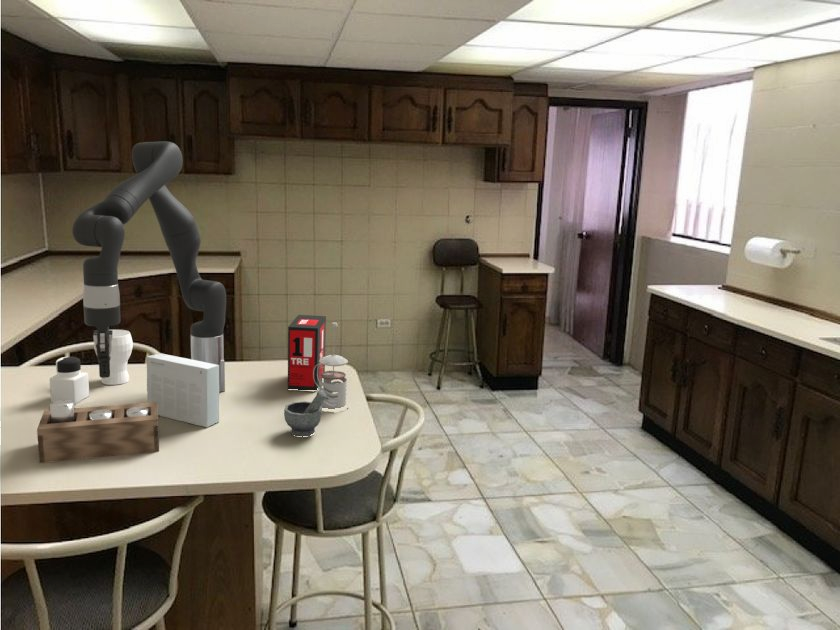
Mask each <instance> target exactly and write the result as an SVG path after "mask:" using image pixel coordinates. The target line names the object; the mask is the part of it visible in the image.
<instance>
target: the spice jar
mask: <svg viewBox="0 0 840 630" xmlns="http://www.w3.org/2000/svg"><path fill="white" fill-rule="evenodd" d="M89 416H90V420H100V419H112V411H110V410H105V409H102V410H95V411H92V412H91V413H90V414H89Z"/></svg>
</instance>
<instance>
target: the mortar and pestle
mask: <svg viewBox="0 0 840 630" xmlns="http://www.w3.org/2000/svg"><path fill="white" fill-rule="evenodd" d="M326 398H327V394H326V393H325V392H323V391H319V390H317V392H316V395H315V397H314V398H313V400H311V401H306V400H303V401H294V402H291V403H288V404H286V405H284V406H285V407H284V408H283V409H284V410H283V415H284V421H285V423H286V424H287V426H289V428H291V432H290V434H291V433H292V434H293V435H295V436H302V437H303V436H310V435H311V434H313V433H314V432H315V433H316V429H315V428H317V426H319V424H320V422H321V420H322V419H321V418H322V413H323V412H322V406H321V405H322V403H323V401H324V400H325V399H326ZM293 435H292V436H293ZM295 436H294V437H295ZM310 437H311V436H310Z"/></svg>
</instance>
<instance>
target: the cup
mask: <svg viewBox="0 0 840 630" xmlns="http://www.w3.org/2000/svg"><path fill="white" fill-rule="evenodd" d="M112 330H113V338H112V352H111V354H110V356H111V360H110V376H109V377H106V378H101V384H104V385H107V386H108V385H109V386H113V385H114V386H115V385H122V384H125V383H128V382H130V376H129V372H128V360H129V359H130V357H131V354H132V351H133V347H134V344H133V338H132V334H131V332H130V331H129V330H125V329H112ZM93 350H94V351H95V342H94V341H93ZM95 354H96V356H97V353H96V352H95Z"/></svg>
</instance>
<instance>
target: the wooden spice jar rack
mask: <svg viewBox="0 0 840 630" xmlns="http://www.w3.org/2000/svg"><path fill="white" fill-rule="evenodd" d="M133 407H146V408H148V416H137V417H127V410H128V409H130V408H133ZM102 409H105V410H110V411H112V419H100V420H90V416H89V414H90V413H91V412H92V411H95V410H102ZM74 420H75V422H63V423H51V413H50V409H45V410H43V413H42V415H41V418H40V420H39V423H38V426H37V428H36V433H37V434H36V435H37V447H38V449H37V450H38V461H39V462H38V463H39V464H43V463H53V462H63V461H64V462H65V461H72V460H73V461H74V460H83V459H84V460H85V459H93V458H104V457H112V456H124V455H133V454H141V453H143V454H144V453H153V452H160V444H159V443H160V441H159V438H160V437H159V436H160V435H159V415H158V411H157V402H150V403H147V402H140V403H126V404H113V405H112V404H111V405H101V406H100V405H99V406H85V407H84V406H83V407H74Z"/></svg>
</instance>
